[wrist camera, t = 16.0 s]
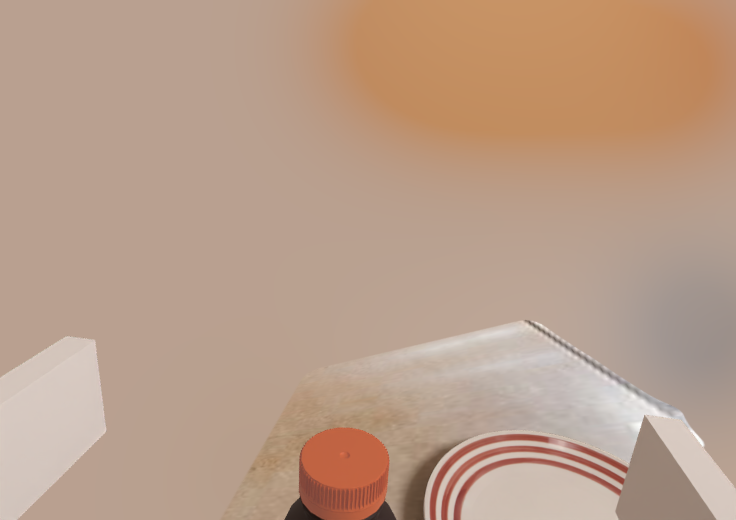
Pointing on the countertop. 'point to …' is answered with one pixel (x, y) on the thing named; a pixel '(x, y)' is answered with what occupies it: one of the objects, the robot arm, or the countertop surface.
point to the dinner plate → (524, 479)
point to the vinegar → (342, 478)
